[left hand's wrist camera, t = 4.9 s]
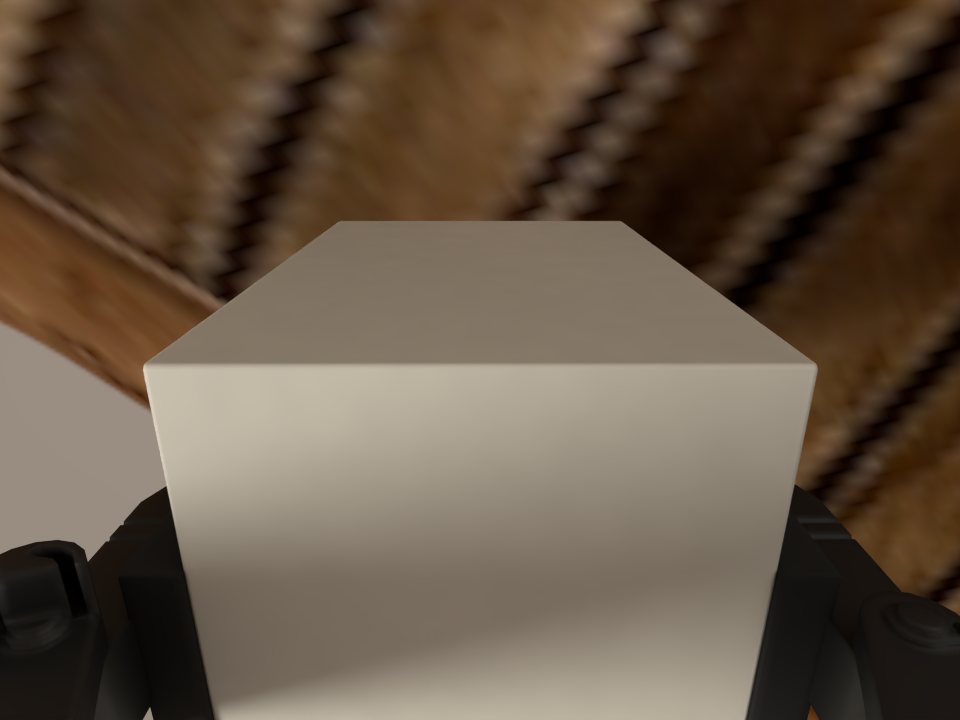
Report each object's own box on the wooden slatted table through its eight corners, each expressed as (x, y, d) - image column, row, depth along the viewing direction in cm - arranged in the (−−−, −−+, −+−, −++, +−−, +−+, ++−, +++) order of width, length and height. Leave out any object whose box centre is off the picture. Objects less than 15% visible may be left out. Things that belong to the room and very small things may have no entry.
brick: (338, 220, 17) (138, 364, 7) (622, 220, 17) (821, 364, 7) (359, 491, 19) (240, 860, 10) (600, 491, 19) (719, 860, 10)
